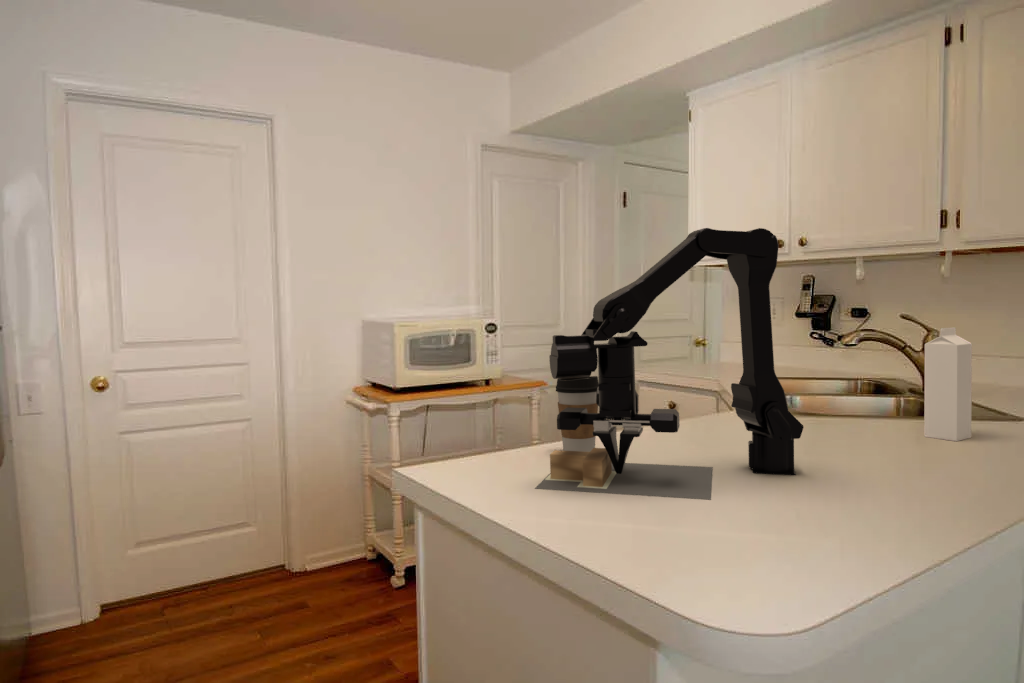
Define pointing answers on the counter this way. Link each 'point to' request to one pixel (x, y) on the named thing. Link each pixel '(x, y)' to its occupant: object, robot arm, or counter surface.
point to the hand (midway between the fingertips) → (619, 473)
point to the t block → (581, 466)
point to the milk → (948, 387)
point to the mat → (646, 482)
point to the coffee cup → (578, 396)
